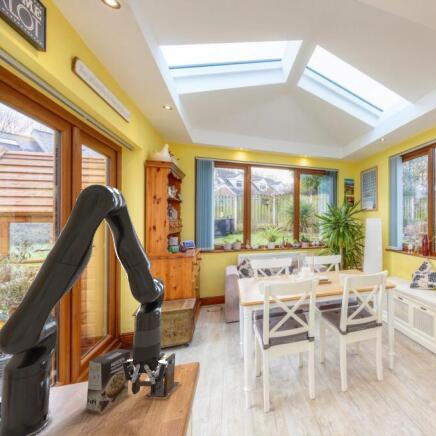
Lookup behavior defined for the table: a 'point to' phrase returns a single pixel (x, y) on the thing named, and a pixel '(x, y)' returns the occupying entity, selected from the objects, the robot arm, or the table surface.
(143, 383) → the switch lever
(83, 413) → the table surface
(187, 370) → the table surface
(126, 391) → the coffee box
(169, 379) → the switch bracket
